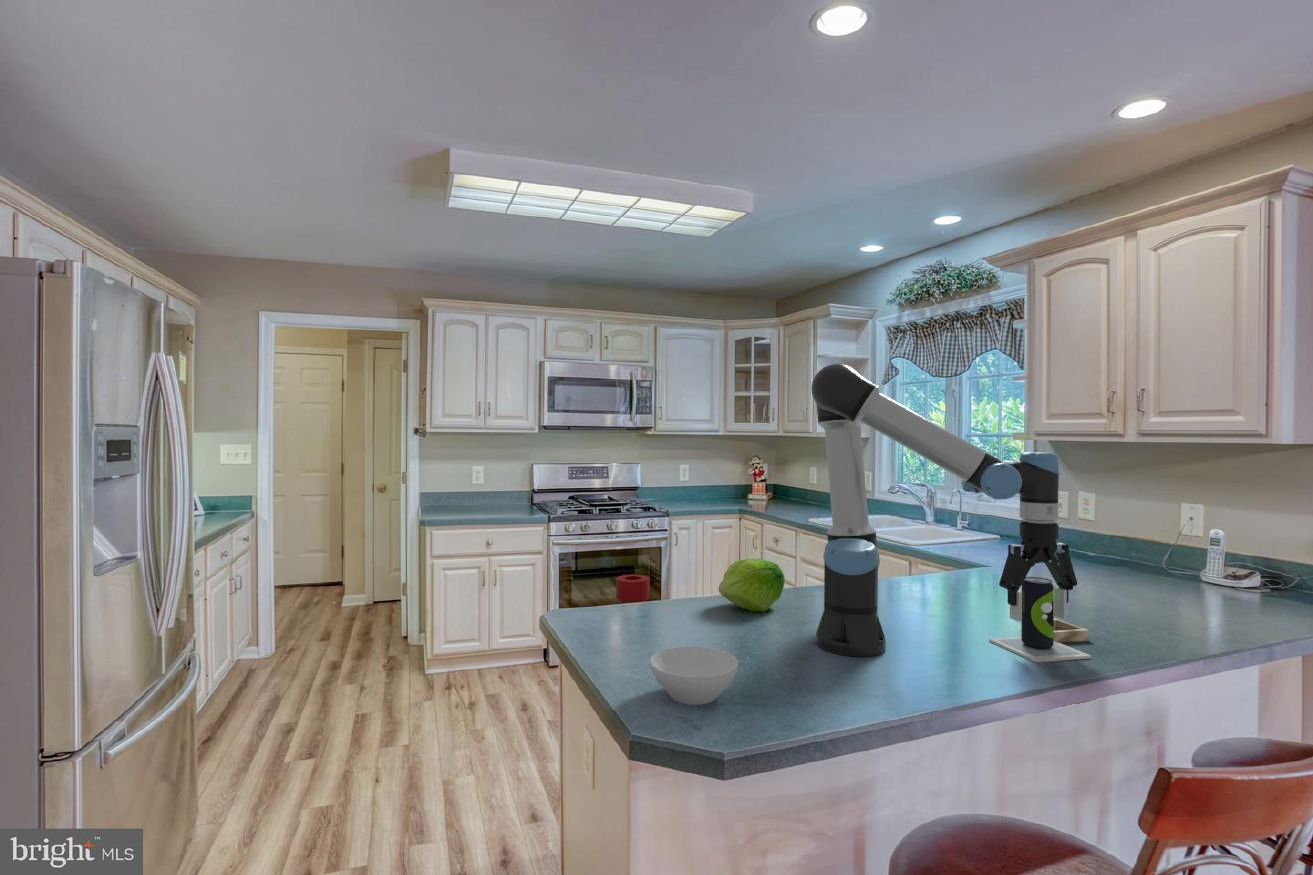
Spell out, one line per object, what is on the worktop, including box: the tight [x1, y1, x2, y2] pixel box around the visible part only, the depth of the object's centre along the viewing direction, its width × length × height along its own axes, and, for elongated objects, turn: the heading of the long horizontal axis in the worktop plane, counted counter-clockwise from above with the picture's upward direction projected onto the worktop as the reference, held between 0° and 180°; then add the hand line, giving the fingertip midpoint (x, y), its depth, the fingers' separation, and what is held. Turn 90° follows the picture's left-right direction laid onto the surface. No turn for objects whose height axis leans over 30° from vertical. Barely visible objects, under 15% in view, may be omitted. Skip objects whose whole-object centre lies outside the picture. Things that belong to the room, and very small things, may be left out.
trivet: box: [988, 636, 1092, 663], centre depth 143 cm, size 14×14×1 cm
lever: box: [615, 574, 650, 603], centre depth 188 cm, size 18×9×7 cm, turn 175°
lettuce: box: [717, 558, 786, 613], centre depth 175 cm, size 15×20×14 cm
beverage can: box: [1020, 576, 1055, 650], centre depth 144 cm, size 6×6×15 cm
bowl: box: [649, 645, 739, 706], centre depth 116 cm, size 16×16×7 cm
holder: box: [1054, 618, 1090, 644], centre depth 153 cm, size 10×10×2 cm
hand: (1038, 618), depth 143 cm, fingers open, 11 cm apart
